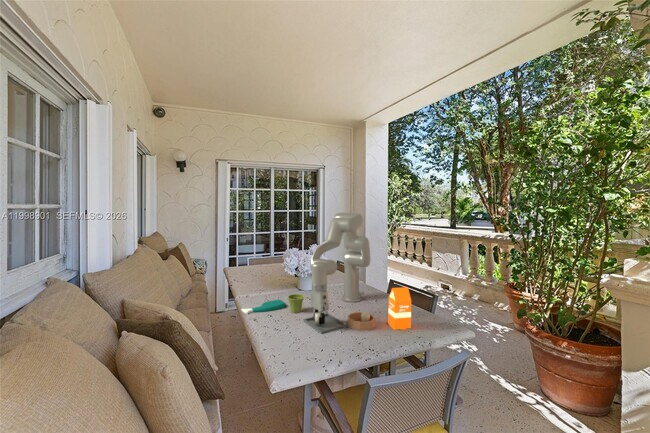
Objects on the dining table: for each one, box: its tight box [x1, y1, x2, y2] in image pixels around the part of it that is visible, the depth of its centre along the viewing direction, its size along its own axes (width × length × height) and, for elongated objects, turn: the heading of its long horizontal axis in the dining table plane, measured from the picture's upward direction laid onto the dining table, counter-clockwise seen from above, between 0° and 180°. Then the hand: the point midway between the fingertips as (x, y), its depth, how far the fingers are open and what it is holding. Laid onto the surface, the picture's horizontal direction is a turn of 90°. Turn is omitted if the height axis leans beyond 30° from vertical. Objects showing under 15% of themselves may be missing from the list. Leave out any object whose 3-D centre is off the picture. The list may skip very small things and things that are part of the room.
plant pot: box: [287, 293, 305, 314], centre depth 167 cm, size 9×9×9 cm
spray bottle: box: [241, 299, 287, 315], centre depth 171 cm, size 3×11×24 cm
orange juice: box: [387, 286, 412, 331], centre depth 148 cm, size 8×9×20 cm
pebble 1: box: [315, 312, 323, 325], centre depth 148 cm, size 4×4×5 cm
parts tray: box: [302, 312, 348, 335], centre depth 149 cm, size 16×18×2 cm
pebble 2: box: [361, 311, 371, 322], centre depth 150 cm, size 4×4×5 cm
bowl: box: [347, 311, 376, 332], centre depth 149 cm, size 13×13×4 cm
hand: (319, 321), depth 148 cm, fingers closed on pebble 1, 4 cm apart
